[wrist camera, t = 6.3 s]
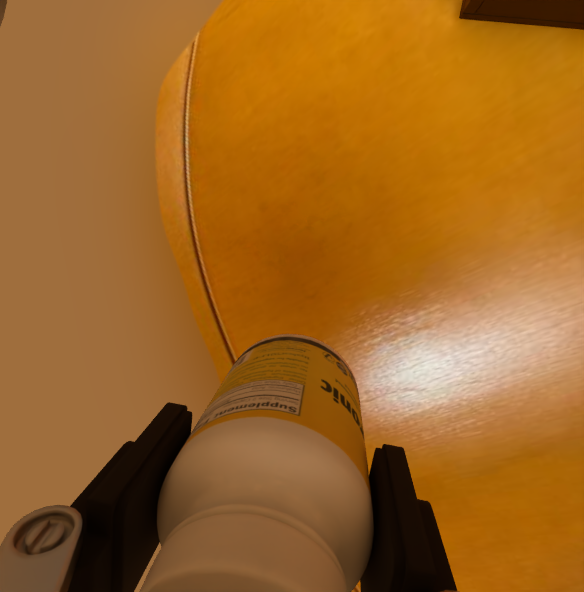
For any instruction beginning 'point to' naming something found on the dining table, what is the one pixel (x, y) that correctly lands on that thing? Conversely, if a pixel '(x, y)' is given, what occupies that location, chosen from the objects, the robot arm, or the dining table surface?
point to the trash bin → (527, 12)
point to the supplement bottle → (270, 480)
